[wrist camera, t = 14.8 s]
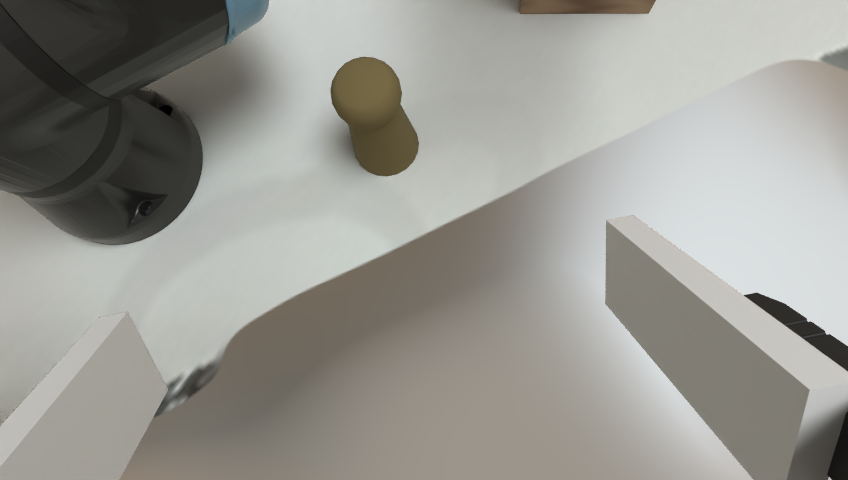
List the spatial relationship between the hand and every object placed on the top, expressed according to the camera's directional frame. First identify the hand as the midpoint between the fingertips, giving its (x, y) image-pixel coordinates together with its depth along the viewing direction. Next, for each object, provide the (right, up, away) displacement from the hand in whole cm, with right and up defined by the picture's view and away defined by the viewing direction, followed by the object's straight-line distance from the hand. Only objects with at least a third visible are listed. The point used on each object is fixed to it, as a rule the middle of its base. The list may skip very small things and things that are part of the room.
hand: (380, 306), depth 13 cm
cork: (-2, +11, +31) cm, 33 cm away
